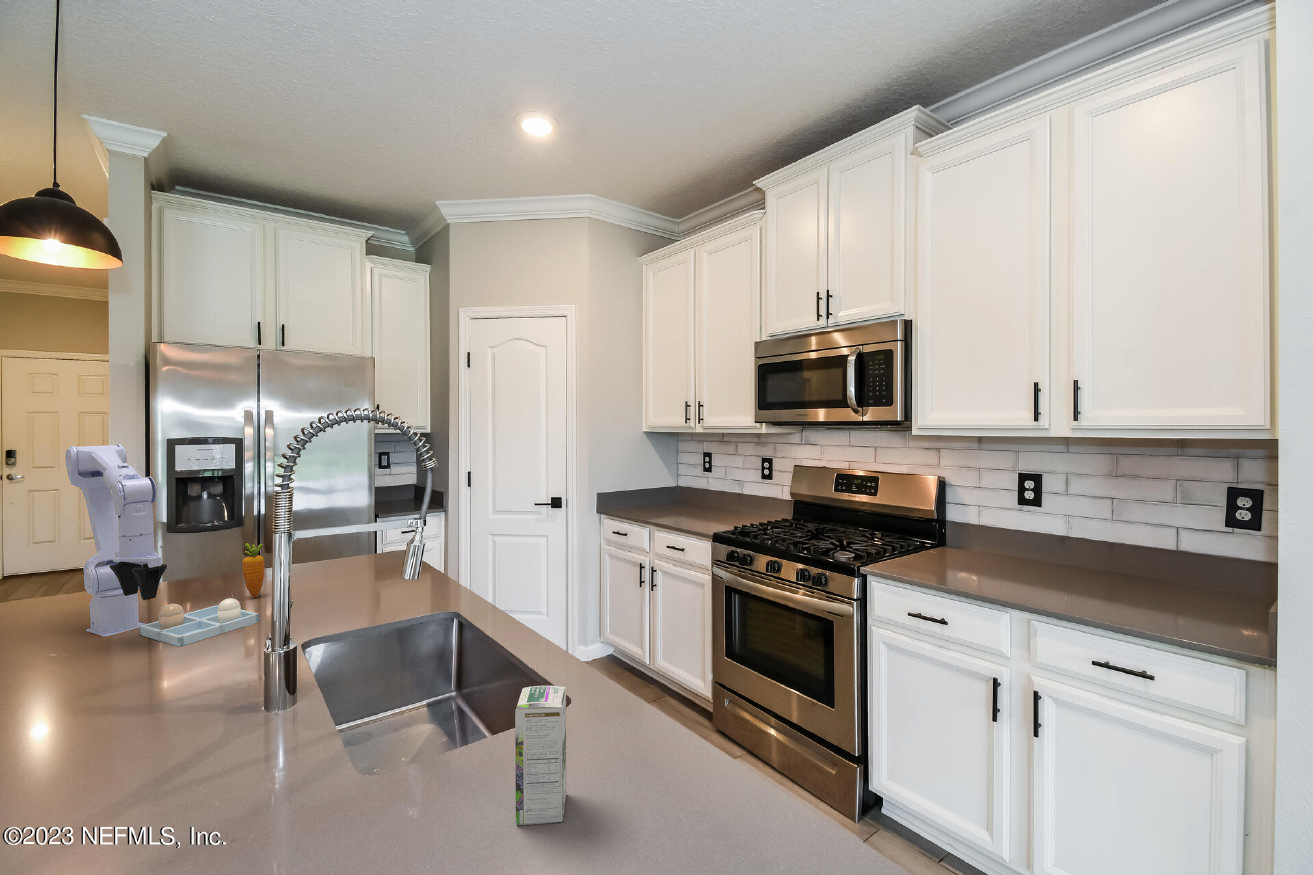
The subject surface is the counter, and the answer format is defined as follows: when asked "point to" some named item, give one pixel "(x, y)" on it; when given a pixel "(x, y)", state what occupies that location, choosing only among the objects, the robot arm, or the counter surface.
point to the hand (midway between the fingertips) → (139, 596)
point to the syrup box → (540, 755)
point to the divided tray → (197, 627)
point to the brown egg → (171, 616)
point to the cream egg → (228, 610)
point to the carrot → (253, 570)
